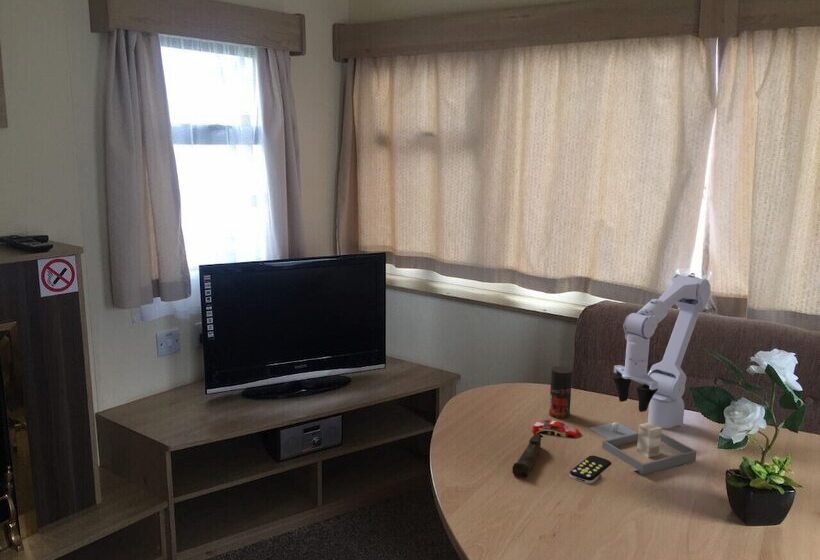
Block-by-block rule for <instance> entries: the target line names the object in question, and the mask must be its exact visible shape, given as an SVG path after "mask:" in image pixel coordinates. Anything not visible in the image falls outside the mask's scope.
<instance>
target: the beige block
mask: <svg viewBox="0 0 820 560" xmlns="http://www.w3.org/2000/svg"><path fill="white" fill-rule="evenodd" d="M662 429H663V428H661V427H659V426H657V425H655V424H653V423H651V422H649V423H648V422H645V423H641V424H638V432H637V433H638V441H636V442H637V443H636V444H637V445H636V452H637V453H639V454H641V455H642V456H643V457H645V458H652V457H656V456H659V455H660V454H661V453H660V452H661V442H662V441H661V433H663V432H662Z"/></svg>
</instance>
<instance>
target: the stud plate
mask: <svg viewBox="0 0 820 560" xmlns="http://www.w3.org/2000/svg"><path fill="white" fill-rule="evenodd" d="M589 429H590V430H591V431H593V432H595V433H597V434H598V435H600V436H601V437H604V438H605V439H606V440H608V439H612V438H617V437H621V436H625V435H630V434H634V433H637V431H635V430H633V429H630V428H629V427H627V426H625V425H624V424H621V423H620V422H618V421H615V422H610V423H605V424H600V425H596V426H591V427H589Z"/></svg>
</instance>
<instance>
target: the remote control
mask: <svg viewBox="0 0 820 560" xmlns="http://www.w3.org/2000/svg"><path fill="white" fill-rule="evenodd" d="M611 464H612V462H611V461H610V460H609V459H607V458H604V457H601V456H597V455H589V456H587V458H585V459H583V460H582V461H581V462H580V463H578V464H577V465H576V466H574V467H573V468H572V469H571V470H570V471H569V477H570V479H573V480H576V481H578V482H582V483H585V484H593V483H594V482H596V481H597V480H598V479H599V478H600V477H601V476H602V474H601V473H602V472H604V471H605V470H606V469H607V468H608V467H609V466H610V465H611Z"/></svg>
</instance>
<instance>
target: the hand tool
mask: <svg viewBox="0 0 820 560" xmlns="http://www.w3.org/2000/svg"><path fill="white" fill-rule="evenodd" d="M539 434H540V433H539ZM539 434H533V435H532V436H531V437H530V439H528V441H529V442H528V444H527V446H526V448H525V449H524V451H523V452H522V454H521V455H520V457H519V458H518V460H517V462H515V463H513V465H512V469H511V470H512V474H513V476H514V477H518V478H522V479H523V478H527V477H528V475H529V472H530V469H531V467H532V466H533V464H534V461H535V460H536V458H537V457H538V456H539V454H540V451H541V441H542V437H541V436H540V435H541V434H540V435H539Z"/></svg>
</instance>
